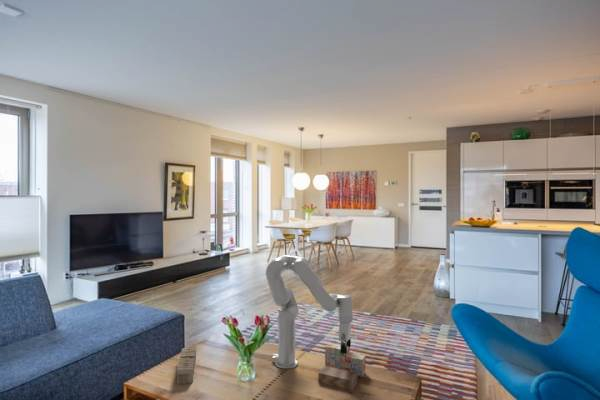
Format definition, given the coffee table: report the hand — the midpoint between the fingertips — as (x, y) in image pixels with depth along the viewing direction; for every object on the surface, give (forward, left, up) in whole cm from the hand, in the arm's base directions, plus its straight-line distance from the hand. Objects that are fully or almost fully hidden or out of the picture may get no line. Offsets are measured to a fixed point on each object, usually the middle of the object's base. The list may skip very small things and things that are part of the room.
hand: (345, 349), depth 197 cm
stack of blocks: (0, 0, -12) cm, 12 cm away
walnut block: (-1, -14, -12) cm, 18 cm away
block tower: (-79, -33, -12) cm, 86 cm away
